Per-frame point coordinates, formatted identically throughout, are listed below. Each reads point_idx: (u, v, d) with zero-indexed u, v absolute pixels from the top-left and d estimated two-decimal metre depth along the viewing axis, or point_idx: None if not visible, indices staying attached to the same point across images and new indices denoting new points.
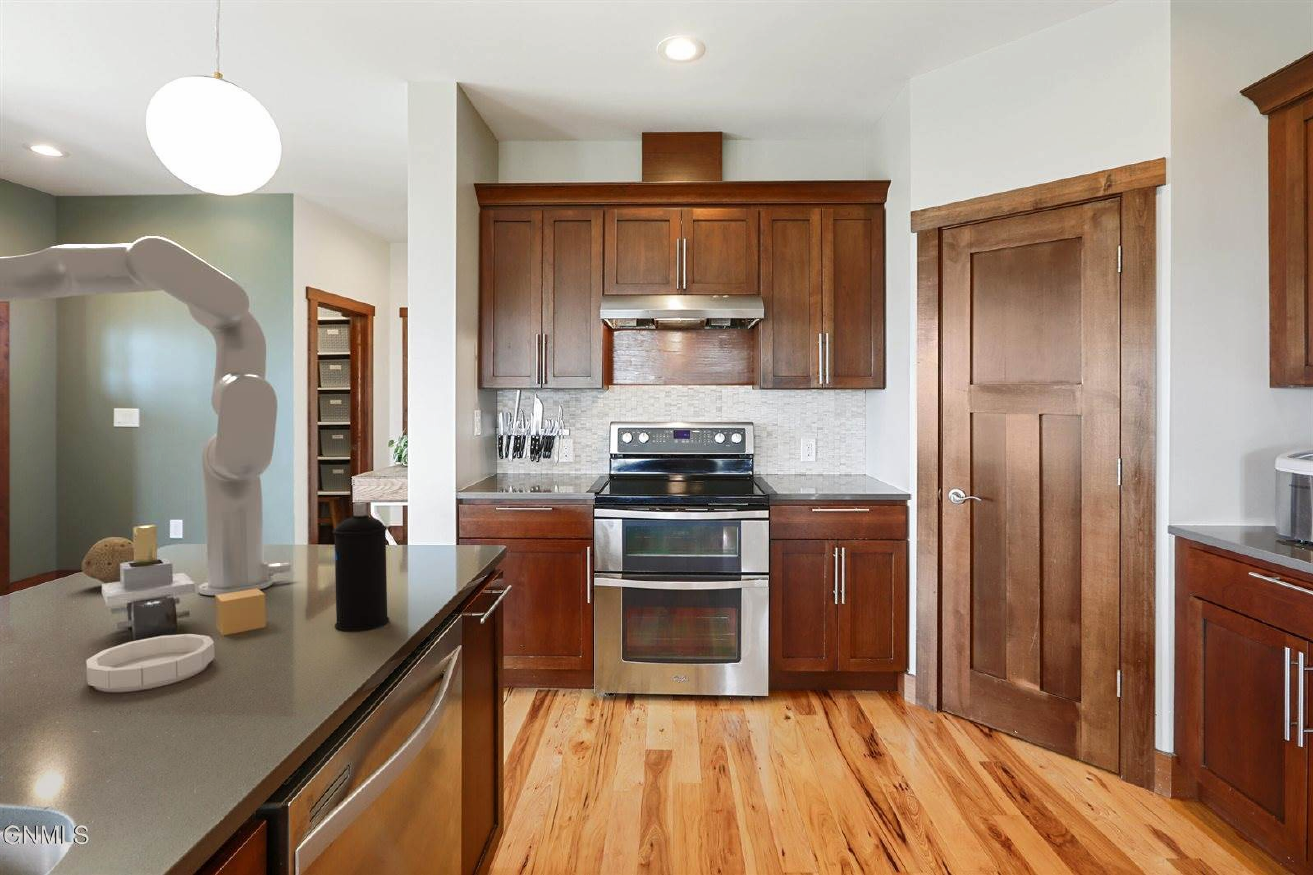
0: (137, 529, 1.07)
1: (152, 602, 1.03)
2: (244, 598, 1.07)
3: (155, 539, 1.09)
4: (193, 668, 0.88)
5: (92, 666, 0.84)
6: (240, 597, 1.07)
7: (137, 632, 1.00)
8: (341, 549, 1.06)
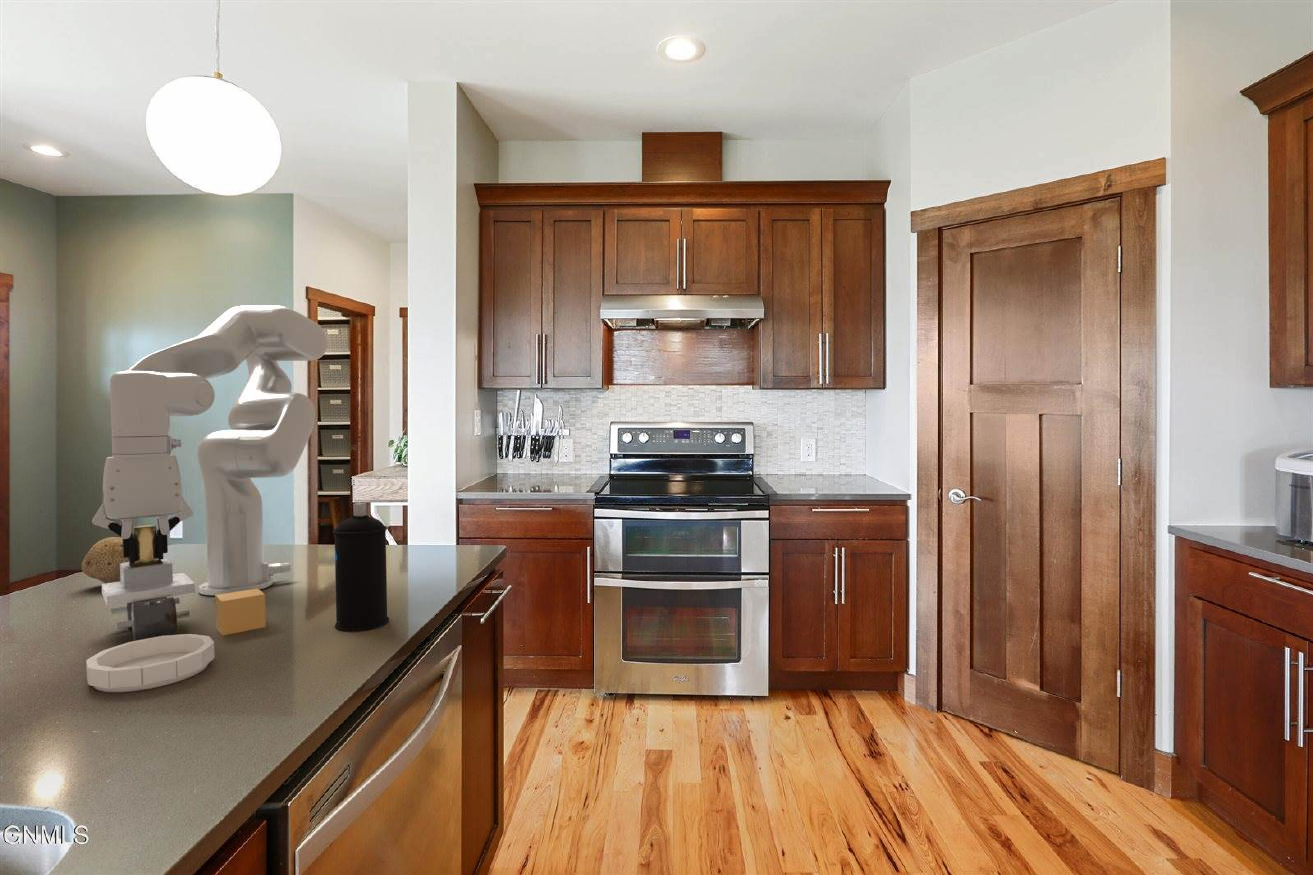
0: (137, 529, 1.07)
1: (152, 602, 1.03)
2: (244, 598, 1.07)
3: (155, 539, 1.09)
4: (193, 668, 0.88)
5: (92, 666, 0.84)
6: (240, 597, 1.07)
7: (137, 632, 1.00)
8: (341, 549, 1.06)
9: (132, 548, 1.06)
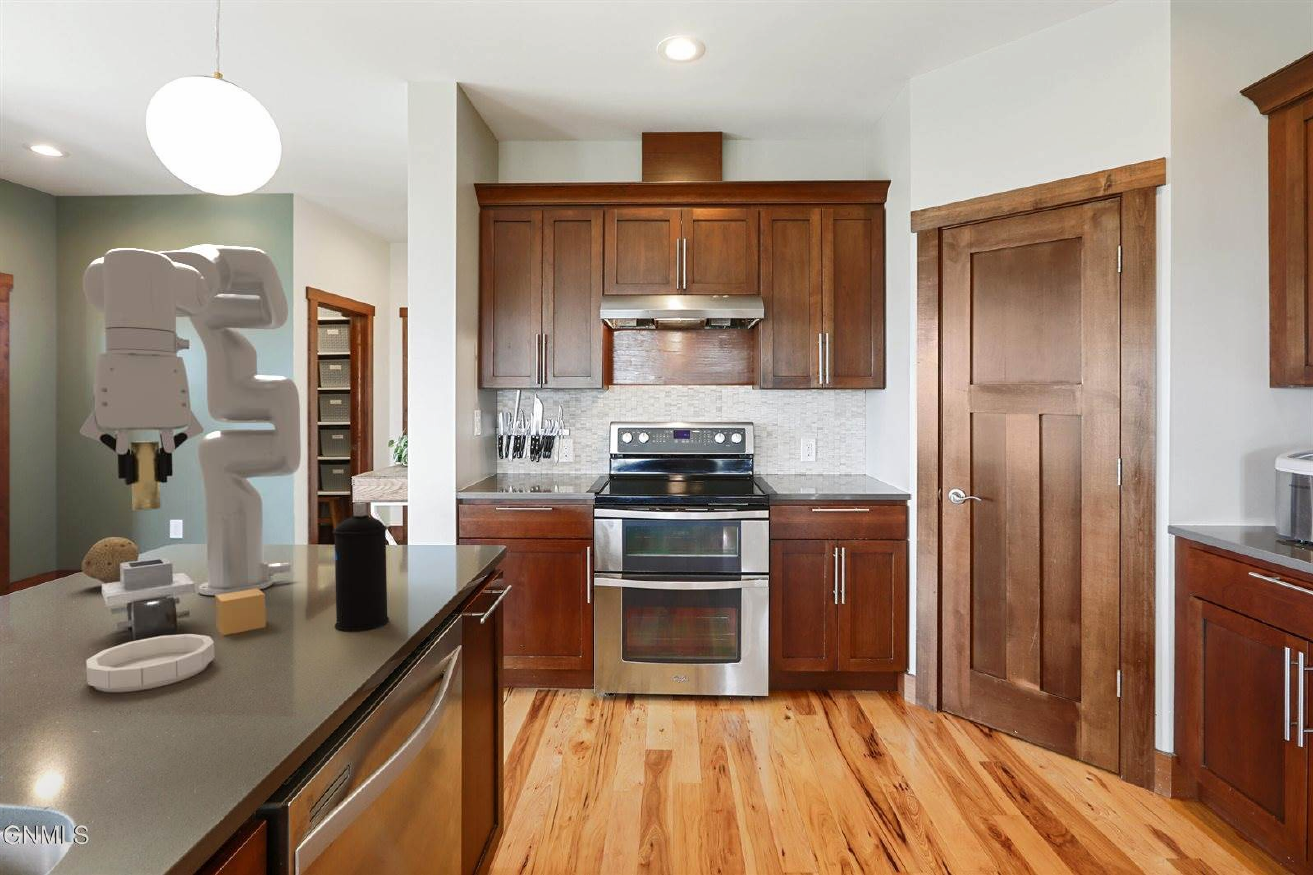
0: (135, 443, 0.88)
1: (152, 602, 1.03)
2: (244, 598, 1.07)
3: (157, 457, 0.90)
4: (193, 668, 0.88)
5: (92, 666, 0.84)
6: (240, 597, 1.07)
7: (137, 632, 1.00)
8: (341, 549, 1.06)
9: (129, 466, 0.87)
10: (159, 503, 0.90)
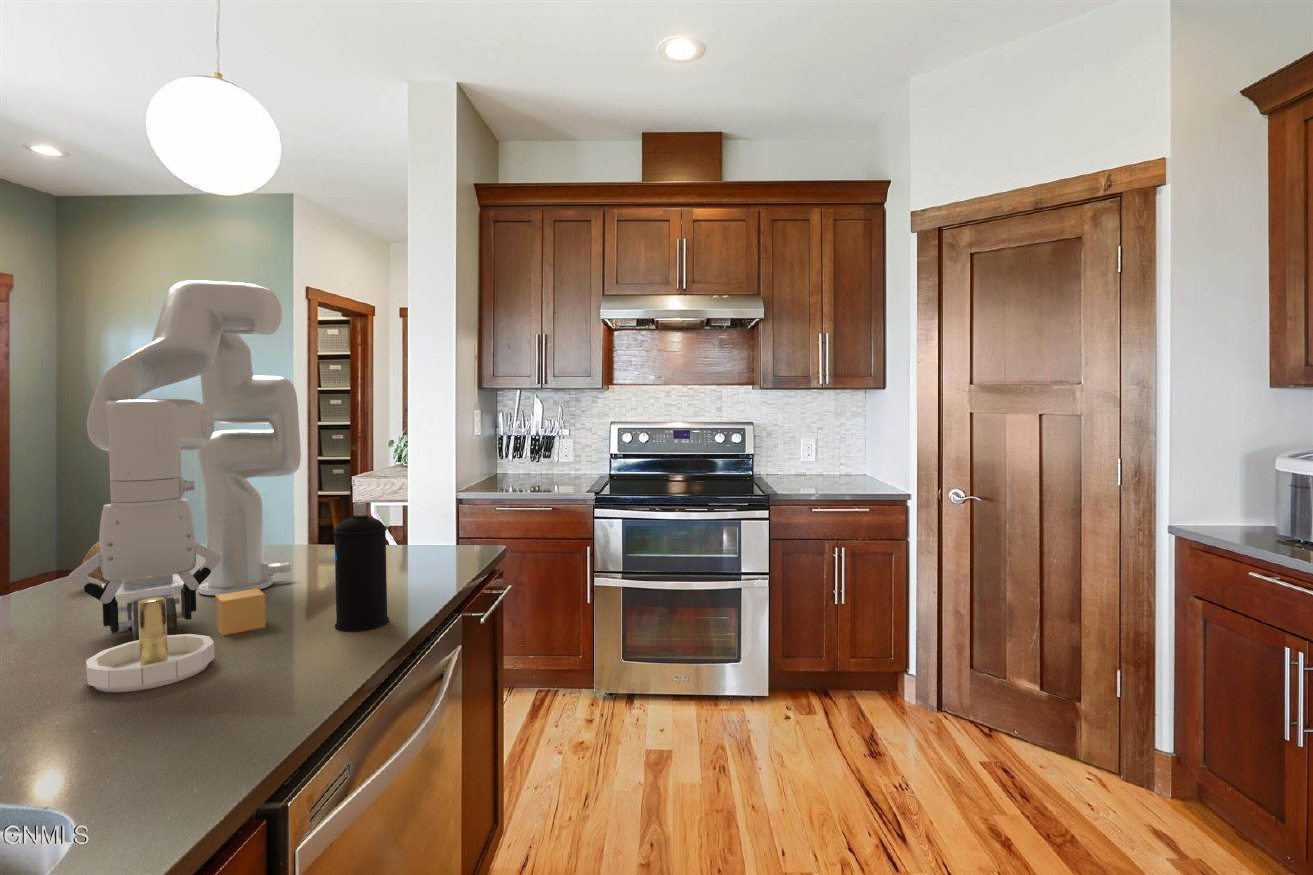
0: (143, 605, 0.88)
1: None
2: (244, 598, 1.07)
3: (165, 615, 0.90)
4: (193, 668, 0.88)
5: (92, 666, 0.84)
6: (240, 597, 1.07)
7: (137, 632, 1.00)
8: (341, 549, 1.06)
9: (114, 615, 0.85)
10: (167, 660, 0.90)
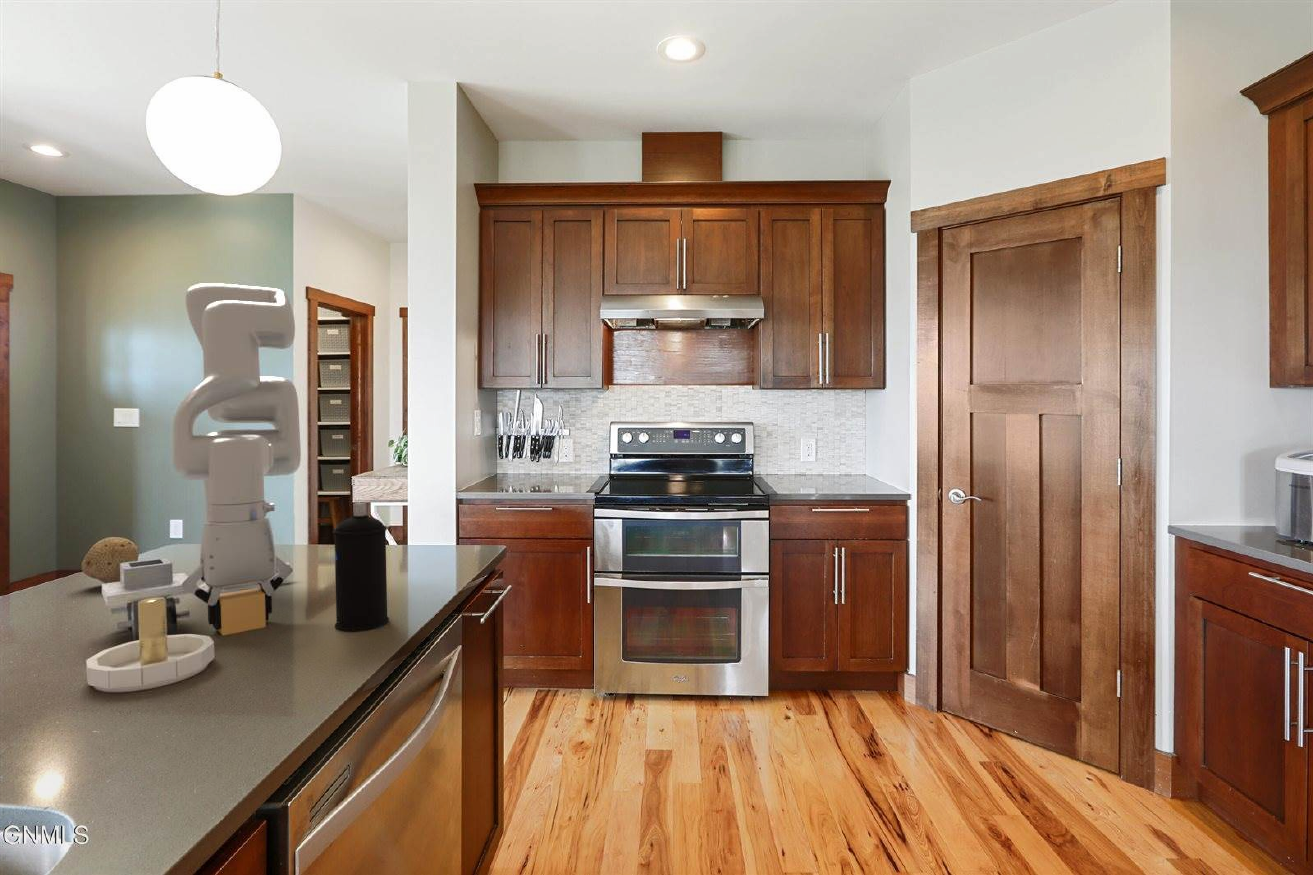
0: (143, 605, 0.88)
1: None
2: (244, 598, 1.07)
3: (165, 615, 0.90)
4: (193, 668, 0.88)
5: (92, 666, 0.84)
6: (240, 597, 1.07)
7: (137, 632, 1.00)
8: (341, 549, 1.06)
9: (218, 615, 1.05)
10: (167, 660, 0.90)
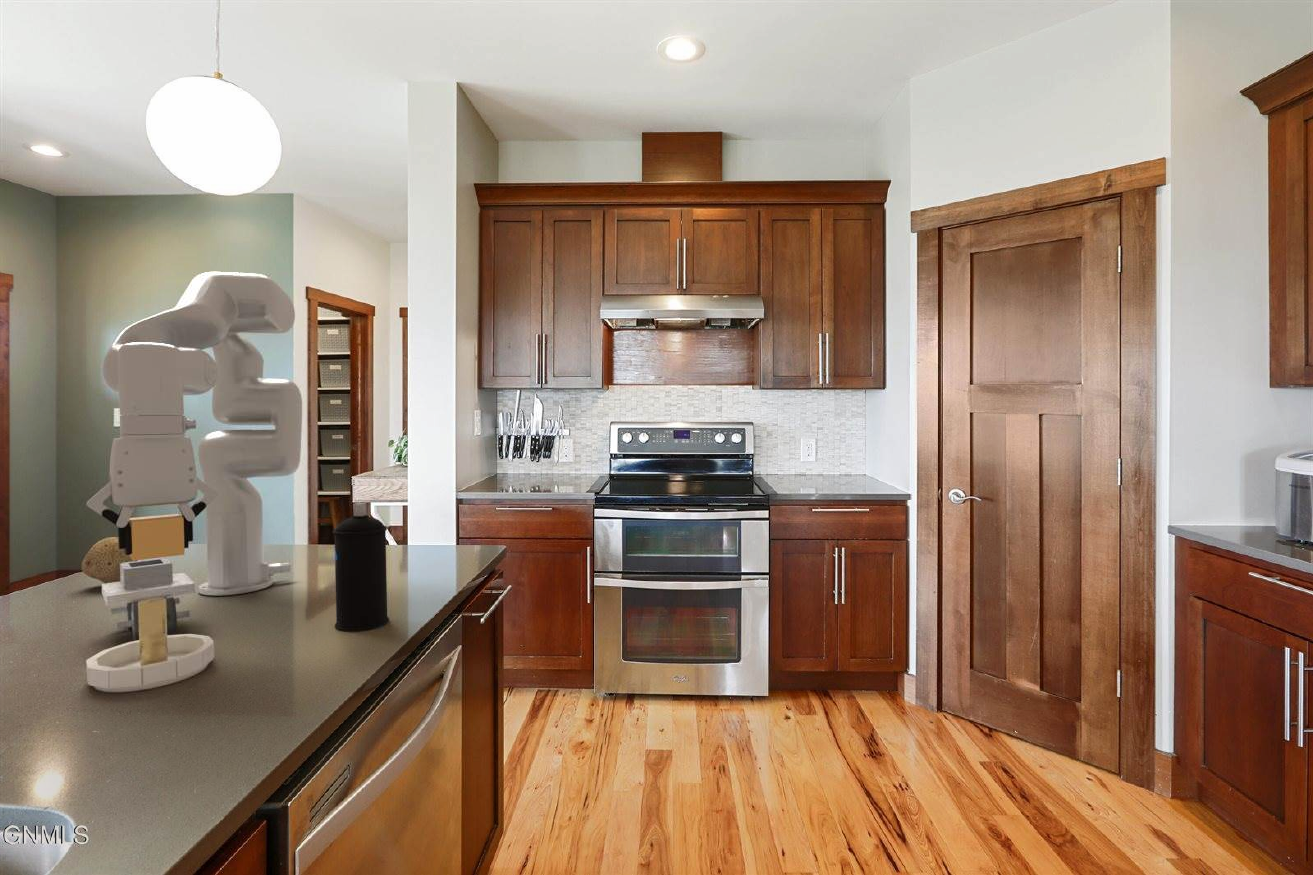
0: (143, 605, 0.88)
1: None
2: (159, 520, 0.96)
3: (165, 615, 0.90)
4: (193, 668, 0.88)
5: (92, 666, 0.84)
6: (154, 519, 0.96)
7: (137, 632, 1.00)
8: (341, 549, 1.06)
9: (128, 538, 0.95)
10: (167, 660, 0.90)
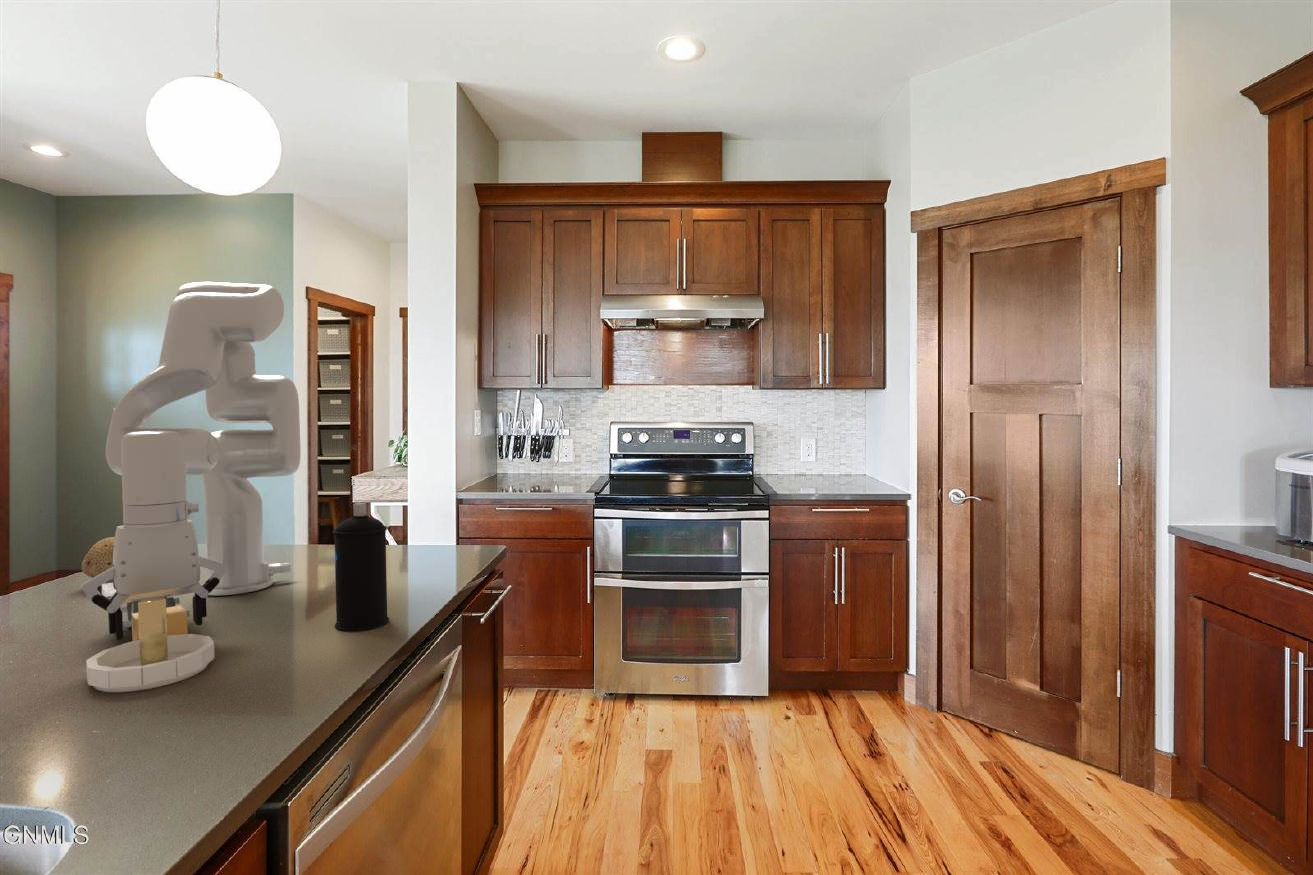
0: (143, 605, 0.88)
1: None
2: None
3: (165, 615, 0.90)
4: (193, 668, 0.88)
5: (92, 666, 0.84)
6: None
7: None
8: (341, 549, 1.06)
9: (119, 623, 0.94)
10: (167, 660, 0.90)
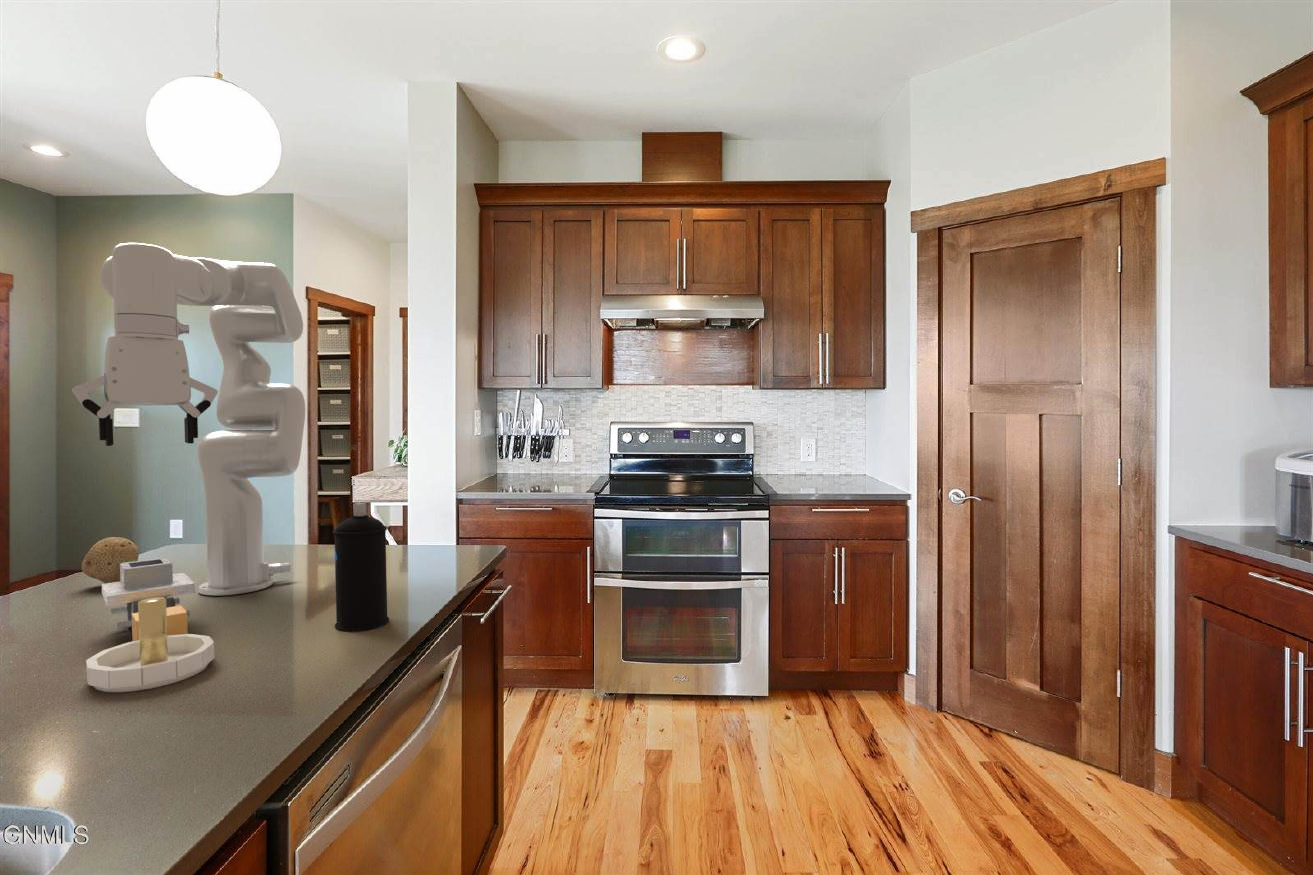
0: (143, 605, 0.88)
1: None
2: None
3: (165, 615, 0.90)
4: (193, 668, 0.88)
5: (92, 666, 0.84)
6: None
7: None
8: (341, 549, 1.06)
9: (109, 429, 0.96)
10: (167, 660, 0.90)
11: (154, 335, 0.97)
